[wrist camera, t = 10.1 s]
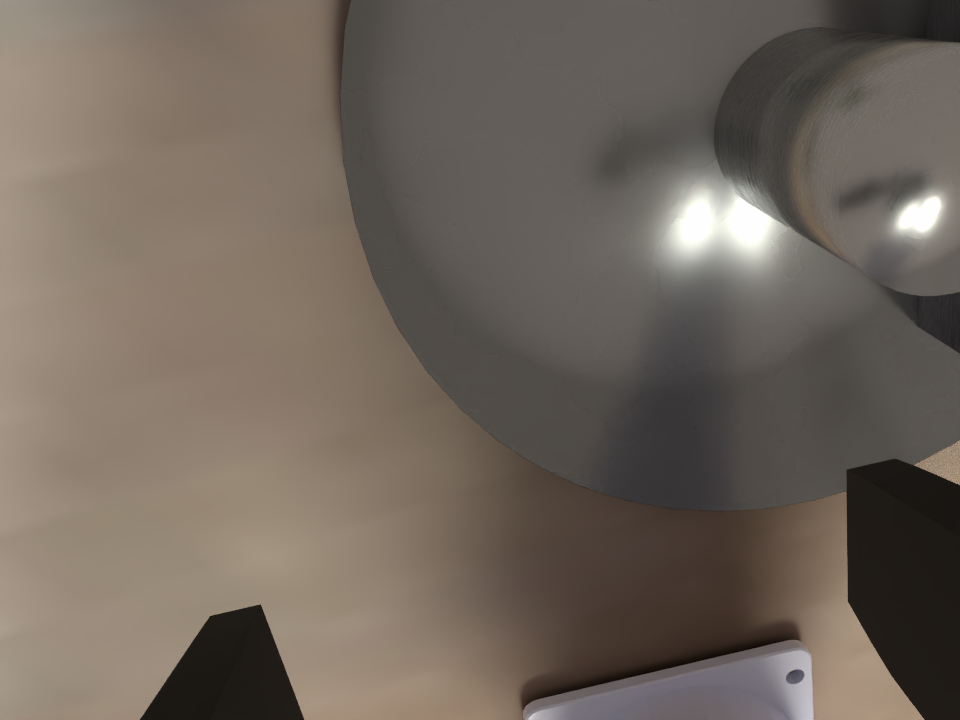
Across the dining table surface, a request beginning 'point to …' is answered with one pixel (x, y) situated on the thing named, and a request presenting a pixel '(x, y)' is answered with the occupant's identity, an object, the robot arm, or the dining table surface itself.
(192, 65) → the dining table surface
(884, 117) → the rosette joint
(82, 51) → the dining table surface
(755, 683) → the robot arm
